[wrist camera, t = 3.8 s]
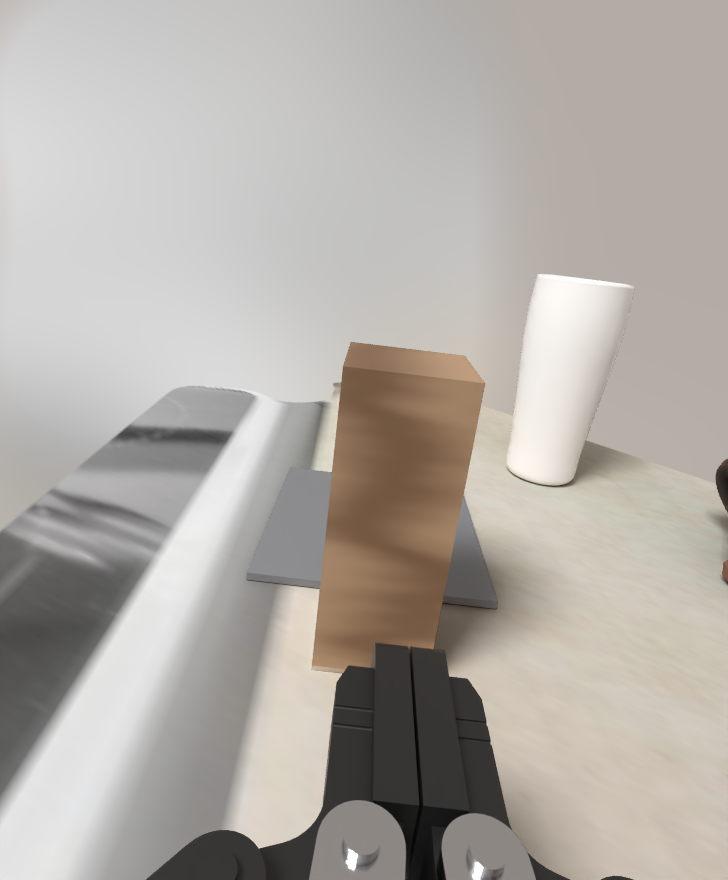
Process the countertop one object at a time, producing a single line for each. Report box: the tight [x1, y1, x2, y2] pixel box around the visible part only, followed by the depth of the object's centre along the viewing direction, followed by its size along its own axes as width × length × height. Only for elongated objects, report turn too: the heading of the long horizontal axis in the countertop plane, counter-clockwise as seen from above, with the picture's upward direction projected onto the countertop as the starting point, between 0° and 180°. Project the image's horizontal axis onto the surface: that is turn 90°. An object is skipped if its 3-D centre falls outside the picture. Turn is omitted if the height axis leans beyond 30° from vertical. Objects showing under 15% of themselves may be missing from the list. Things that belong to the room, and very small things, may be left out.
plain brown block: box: [312, 342, 485, 673], centre depth 21 cm, size 4×4×12 cm
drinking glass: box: [506, 274, 635, 485], centre depth 41 cm, size 7×7×15 cm
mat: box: [247, 468, 498, 609], centre depth 32 cm, size 12×13×1 cm
